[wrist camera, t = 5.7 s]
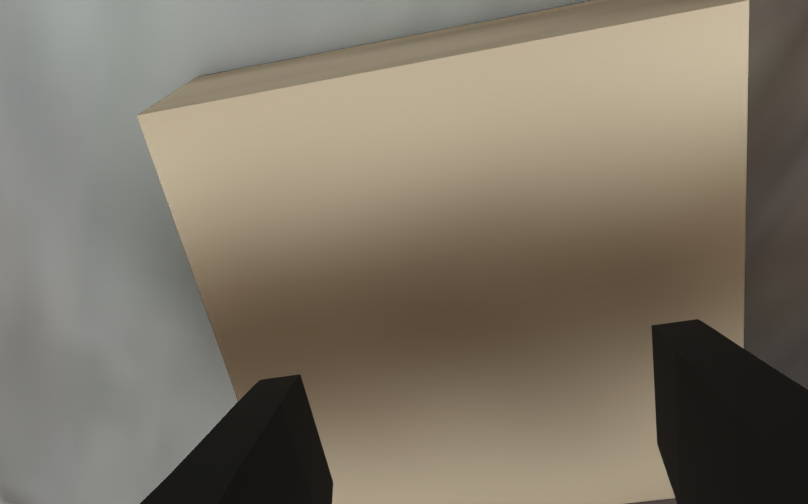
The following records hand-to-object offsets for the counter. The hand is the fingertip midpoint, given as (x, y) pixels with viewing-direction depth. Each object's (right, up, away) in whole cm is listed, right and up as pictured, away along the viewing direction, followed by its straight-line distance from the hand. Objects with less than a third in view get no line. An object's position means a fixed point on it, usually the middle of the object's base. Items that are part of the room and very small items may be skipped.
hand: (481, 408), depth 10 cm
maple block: (0, +2, +5) cm, 5 cm away
